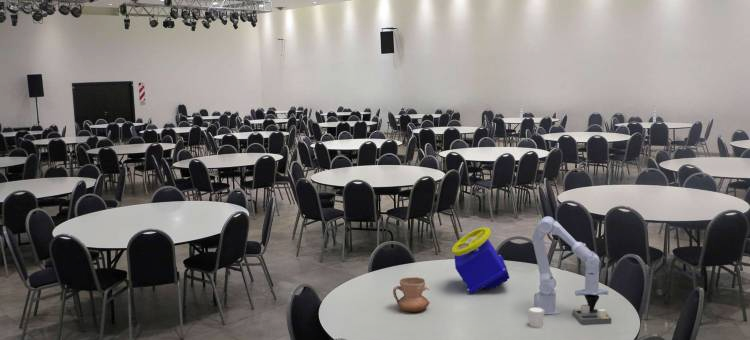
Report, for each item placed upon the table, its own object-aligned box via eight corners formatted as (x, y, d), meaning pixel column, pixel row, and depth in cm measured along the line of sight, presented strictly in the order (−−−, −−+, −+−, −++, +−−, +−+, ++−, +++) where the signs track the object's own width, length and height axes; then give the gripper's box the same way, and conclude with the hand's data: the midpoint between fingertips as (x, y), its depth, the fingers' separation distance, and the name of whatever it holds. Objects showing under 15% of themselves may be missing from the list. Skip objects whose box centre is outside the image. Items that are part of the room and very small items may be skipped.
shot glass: (541, 321, 273) (541, 306, 272) (546, 327, 267) (546, 312, 266) (526, 322, 273) (526, 307, 272) (530, 328, 266) (530, 312, 265)
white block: (582, 315, 276) (583, 306, 275) (580, 313, 278) (580, 304, 278) (589, 315, 276) (589, 306, 275) (587, 312, 278) (587, 304, 278)
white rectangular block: (599, 319, 270) (599, 311, 269) (596, 317, 273) (597, 309, 272) (606, 319, 270) (606, 310, 270) (603, 317, 273) (603, 308, 272)
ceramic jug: (433, 304, 298) (432, 276, 296) (428, 315, 284) (427, 285, 282) (397, 303, 302) (395, 275, 301) (390, 313, 288) (389, 284, 287)
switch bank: (582, 324, 268) (582, 319, 268) (572, 315, 280) (572, 309, 279) (611, 323, 269) (611, 317, 269) (600, 313, 280) (600, 308, 280)
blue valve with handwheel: (515, 265, 328) (486, 219, 324) (522, 284, 302) (490, 235, 298) (474, 288, 333) (444, 243, 329) (477, 309, 307) (445, 261, 303)
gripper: (579, 284, 271) (578, 314, 273) (611, 283, 271) (610, 312, 273) (573, 279, 278) (572, 308, 280) (604, 278, 278) (604, 307, 280)
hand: (591, 310), depth 277 cm, fingers closed
